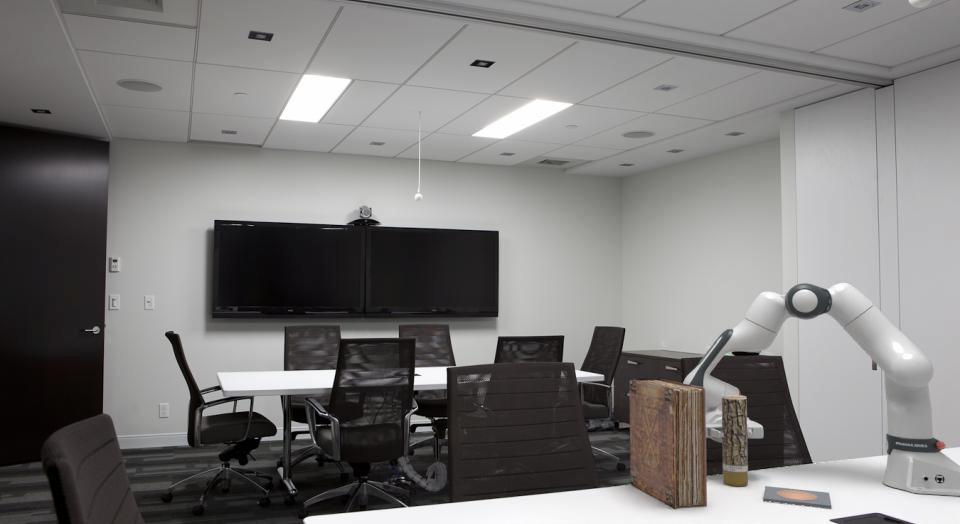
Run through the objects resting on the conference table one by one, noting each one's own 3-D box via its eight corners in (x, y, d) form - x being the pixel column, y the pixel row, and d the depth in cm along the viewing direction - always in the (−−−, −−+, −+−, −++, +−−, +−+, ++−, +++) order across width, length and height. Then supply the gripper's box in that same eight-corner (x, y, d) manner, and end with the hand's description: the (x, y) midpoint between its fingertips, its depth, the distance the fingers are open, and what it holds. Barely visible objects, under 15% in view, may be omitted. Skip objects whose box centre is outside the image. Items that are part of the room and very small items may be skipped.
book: (707, 507, 177) (705, 387, 179) (674, 509, 175) (673, 388, 177) (659, 483, 202) (658, 378, 204) (629, 484, 200) (629, 378, 202)
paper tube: (750, 487, 197) (748, 398, 199) (724, 486, 198) (723, 397, 200) (745, 482, 204) (744, 395, 205) (721, 480, 205) (720, 394, 207)
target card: (829, 495, 189) (829, 492, 189) (831, 508, 176) (831, 505, 177) (765, 488, 196) (765, 485, 196) (763, 501, 183) (763, 497, 183)
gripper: (685, 416, 215) (699, 423, 201) (752, 417, 215) (770, 424, 201) (686, 437, 215) (699, 446, 201) (753, 437, 214) (771, 446, 201)
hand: (735, 435), depth 201 cm, fingers closed on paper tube, 7 cm apart
